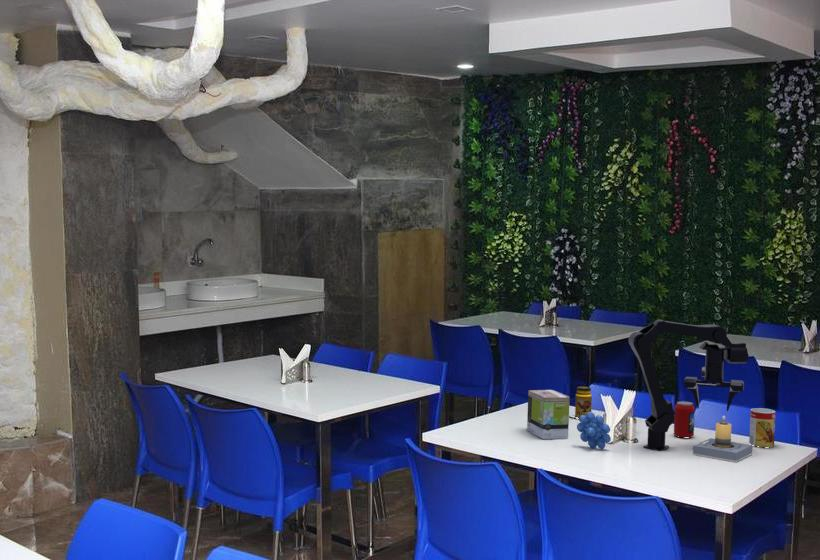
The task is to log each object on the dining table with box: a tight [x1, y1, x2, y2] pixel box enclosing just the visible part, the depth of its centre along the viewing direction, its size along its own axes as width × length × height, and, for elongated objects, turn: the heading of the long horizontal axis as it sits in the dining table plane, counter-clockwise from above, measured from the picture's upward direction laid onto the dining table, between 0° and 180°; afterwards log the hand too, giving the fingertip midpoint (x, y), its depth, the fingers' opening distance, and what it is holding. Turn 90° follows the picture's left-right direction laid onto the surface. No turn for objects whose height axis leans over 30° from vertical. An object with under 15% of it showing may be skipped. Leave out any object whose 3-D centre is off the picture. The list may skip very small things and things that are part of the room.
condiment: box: [574, 385, 593, 418], centre depth 359 cm, size 7×8×12 cm
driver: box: [714, 415, 732, 448], centre depth 306 cm, size 5×5×12 cm
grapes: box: [576, 411, 612, 450], centre depth 311 cm, size 12×7×12 cm, turn 60°
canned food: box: [748, 407, 776, 448], centre depth 319 cm, size 8×8×12 cm
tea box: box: [526, 389, 571, 440], centre depth 331 cm, size 15×10×15 cm
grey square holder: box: [692, 438, 753, 463], centre depth 306 cm, size 14×14×3 cm
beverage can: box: [673, 400, 696, 438], centre depth 330 cm, size 7×7×12 cm
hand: (712, 409), depth 313 cm, fingers open, 9 cm apart
